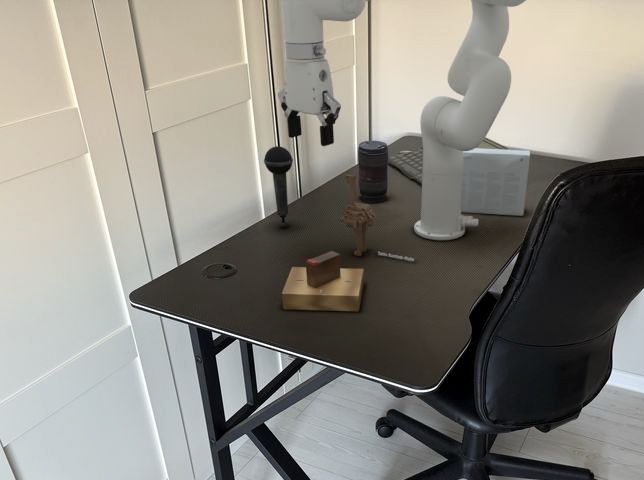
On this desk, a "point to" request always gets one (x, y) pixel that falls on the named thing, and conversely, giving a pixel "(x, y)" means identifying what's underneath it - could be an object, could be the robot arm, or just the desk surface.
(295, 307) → the wooden dial board
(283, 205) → the microphone
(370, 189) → the camera lens
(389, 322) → the desk surface
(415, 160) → the computer keyboard
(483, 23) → the robot arm
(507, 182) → the skincare box
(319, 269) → the arm
